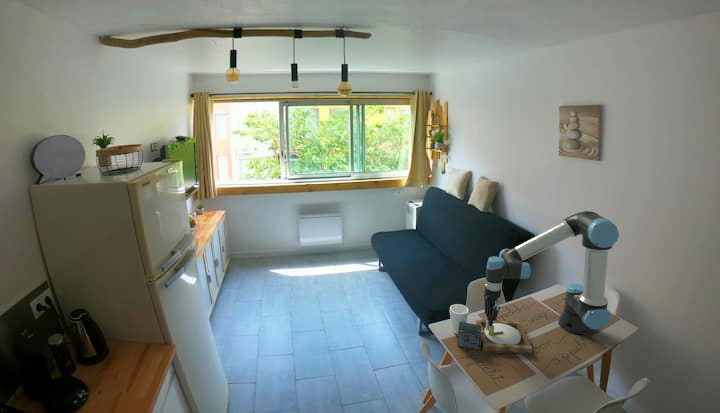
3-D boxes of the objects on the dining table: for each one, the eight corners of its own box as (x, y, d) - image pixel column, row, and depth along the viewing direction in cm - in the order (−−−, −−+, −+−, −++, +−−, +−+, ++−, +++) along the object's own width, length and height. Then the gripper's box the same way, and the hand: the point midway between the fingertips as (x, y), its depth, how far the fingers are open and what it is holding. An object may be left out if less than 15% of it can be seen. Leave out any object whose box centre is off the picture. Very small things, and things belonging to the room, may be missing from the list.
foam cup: (467, 337, 189) (469, 314, 186) (449, 335, 191) (450, 313, 188) (466, 326, 198) (467, 304, 195) (448, 324, 200) (449, 303, 196)
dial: (509, 325, 196) (510, 314, 194) (527, 345, 180) (528, 333, 178) (478, 328, 194) (479, 317, 192) (493, 349, 178) (494, 337, 176)
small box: (480, 342, 185) (481, 324, 182) (479, 350, 179) (481, 332, 176) (458, 339, 188) (459, 320, 185) (457, 346, 182) (458, 328, 180)
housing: (518, 327, 196) (519, 320, 195) (531, 354, 175) (532, 347, 174) (475, 325, 199) (476, 318, 198) (483, 352, 178) (483, 345, 177)
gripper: (480, 281, 185) (476, 322, 193) (491, 295, 173) (487, 338, 180) (494, 280, 186) (490, 321, 193) (507, 294, 174) (502, 336, 181)
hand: (488, 329), depth 187 cm, fingers closed
